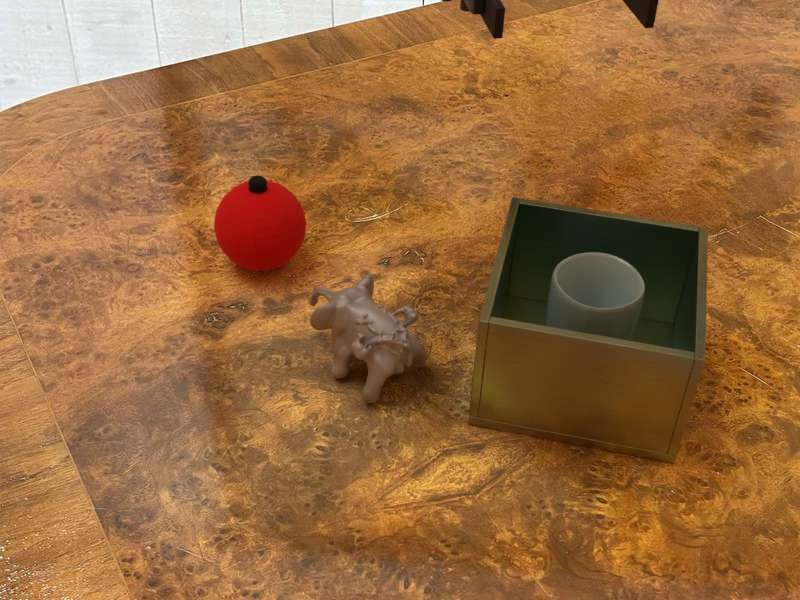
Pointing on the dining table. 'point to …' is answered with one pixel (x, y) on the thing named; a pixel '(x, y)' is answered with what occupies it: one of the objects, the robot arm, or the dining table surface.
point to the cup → (596, 296)
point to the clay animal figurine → (367, 334)
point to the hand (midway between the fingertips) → (576, 18)
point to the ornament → (260, 224)
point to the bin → (592, 335)
